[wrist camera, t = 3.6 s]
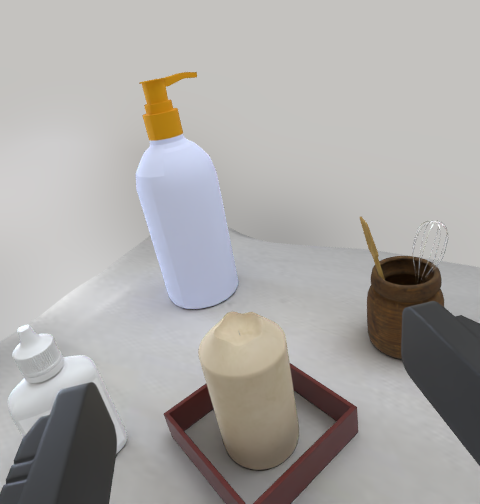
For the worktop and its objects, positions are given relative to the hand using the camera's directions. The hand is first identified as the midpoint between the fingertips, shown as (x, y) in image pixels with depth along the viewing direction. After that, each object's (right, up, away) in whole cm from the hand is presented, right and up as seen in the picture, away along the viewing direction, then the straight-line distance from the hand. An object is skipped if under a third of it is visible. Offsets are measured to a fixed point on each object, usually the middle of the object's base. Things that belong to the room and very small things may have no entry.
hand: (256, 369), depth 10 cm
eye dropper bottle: (-11, -12, +19) cm, 25 cm away
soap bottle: (-4, -2, +37) cm, 37 cm away
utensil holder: (+14, -5, +24) cm, 28 cm away
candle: (+1, -10, +18) cm, 21 cm away
